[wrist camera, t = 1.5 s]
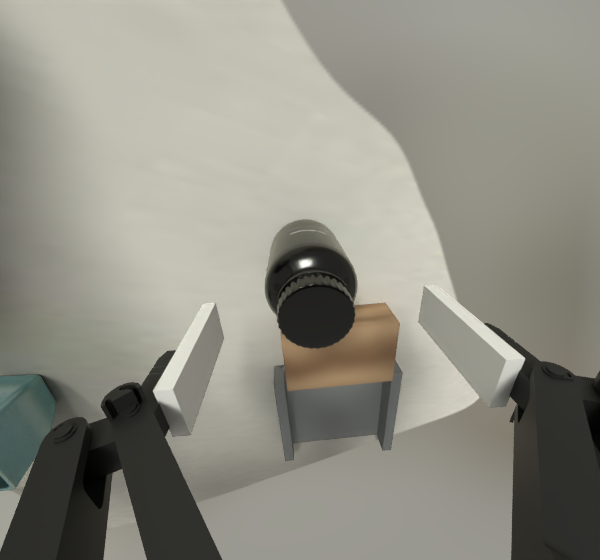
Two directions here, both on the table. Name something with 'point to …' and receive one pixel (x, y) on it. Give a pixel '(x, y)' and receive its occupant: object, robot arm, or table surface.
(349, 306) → the supplement bottle
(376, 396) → the grey tray
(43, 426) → the flower pot
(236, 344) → the table surface
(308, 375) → the walnut ledge
